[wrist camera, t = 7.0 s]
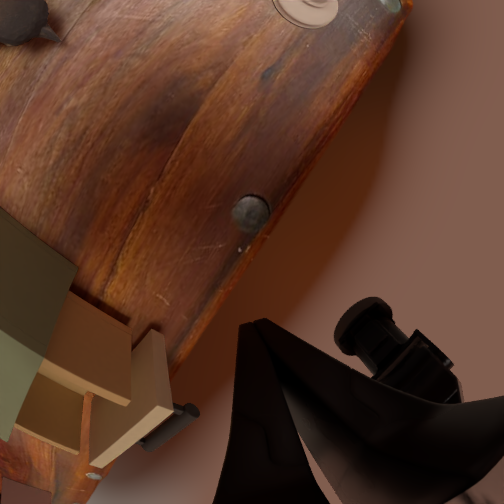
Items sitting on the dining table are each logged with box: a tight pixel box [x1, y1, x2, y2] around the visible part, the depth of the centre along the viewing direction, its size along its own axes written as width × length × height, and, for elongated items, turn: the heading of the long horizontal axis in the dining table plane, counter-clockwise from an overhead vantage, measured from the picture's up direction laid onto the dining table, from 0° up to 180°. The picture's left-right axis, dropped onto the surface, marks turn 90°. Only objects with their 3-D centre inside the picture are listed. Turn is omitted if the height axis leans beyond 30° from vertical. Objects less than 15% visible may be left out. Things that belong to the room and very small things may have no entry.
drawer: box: [13, 291, 200, 468], centre depth 17 cm, size 18×11×7 cm, turn 45°
